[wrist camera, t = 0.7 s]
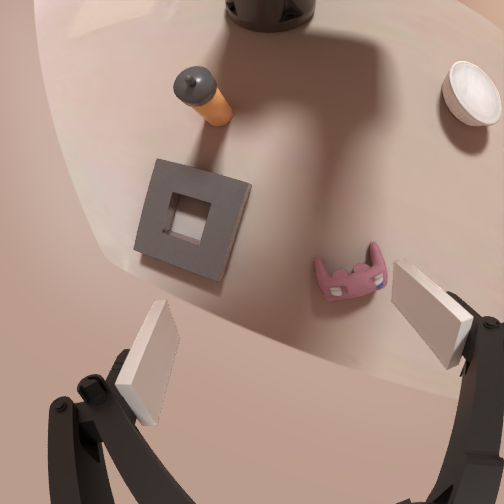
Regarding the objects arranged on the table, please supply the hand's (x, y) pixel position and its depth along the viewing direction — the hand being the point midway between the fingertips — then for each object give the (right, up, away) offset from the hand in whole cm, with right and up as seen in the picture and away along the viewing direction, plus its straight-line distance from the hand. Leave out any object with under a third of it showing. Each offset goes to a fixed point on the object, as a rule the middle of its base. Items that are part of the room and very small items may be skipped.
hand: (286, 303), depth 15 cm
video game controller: (+12, 0, +24) cm, 27 cm away
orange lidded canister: (-7, +23, +23) cm, 34 cm away
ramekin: (+34, +28, +17) cm, 47 cm away
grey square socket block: (-11, +8, +26) cm, 29 cm away
